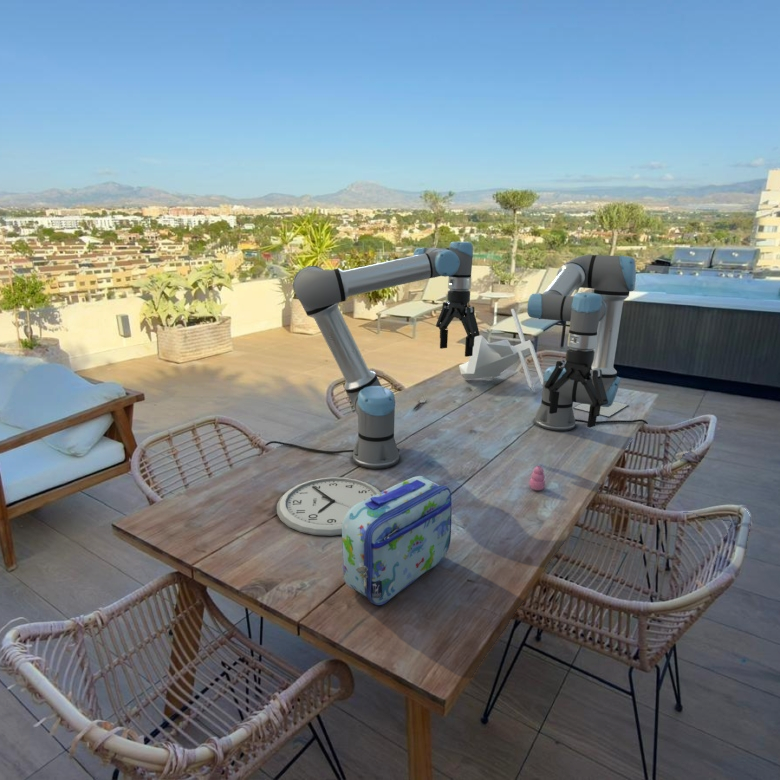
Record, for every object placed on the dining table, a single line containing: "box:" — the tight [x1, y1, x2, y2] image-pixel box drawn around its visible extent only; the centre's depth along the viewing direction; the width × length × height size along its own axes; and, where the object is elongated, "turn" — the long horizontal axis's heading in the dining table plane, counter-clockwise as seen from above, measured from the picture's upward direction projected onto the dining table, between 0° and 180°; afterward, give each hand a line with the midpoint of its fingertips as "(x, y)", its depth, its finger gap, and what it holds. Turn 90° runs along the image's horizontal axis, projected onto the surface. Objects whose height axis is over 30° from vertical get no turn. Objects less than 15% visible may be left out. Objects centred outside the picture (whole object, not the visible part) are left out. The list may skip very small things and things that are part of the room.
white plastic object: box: [458, 308, 544, 394], centre depth 254 cm, size 37×45×31 cm
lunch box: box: [341, 475, 453, 606], centre depth 111 cm, size 26×11×21 cm, turn 134°
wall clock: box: [276, 476, 382, 537], centre depth 142 cm, size 30×2×30 cm
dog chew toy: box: [528, 465, 546, 492], centre depth 153 cm, size 4×4×7 cm
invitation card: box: [573, 400, 629, 418], centre depth 226 cm, size 21×1×15 cm
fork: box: [413, 394, 428, 410], centre depth 224 cm, size 3×16×2 cm, turn 160°
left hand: (455, 352), depth 181 cm, fingers open, 13 cm apart
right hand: (571, 419), depth 154 cm, fingers open, 13 cm apart
